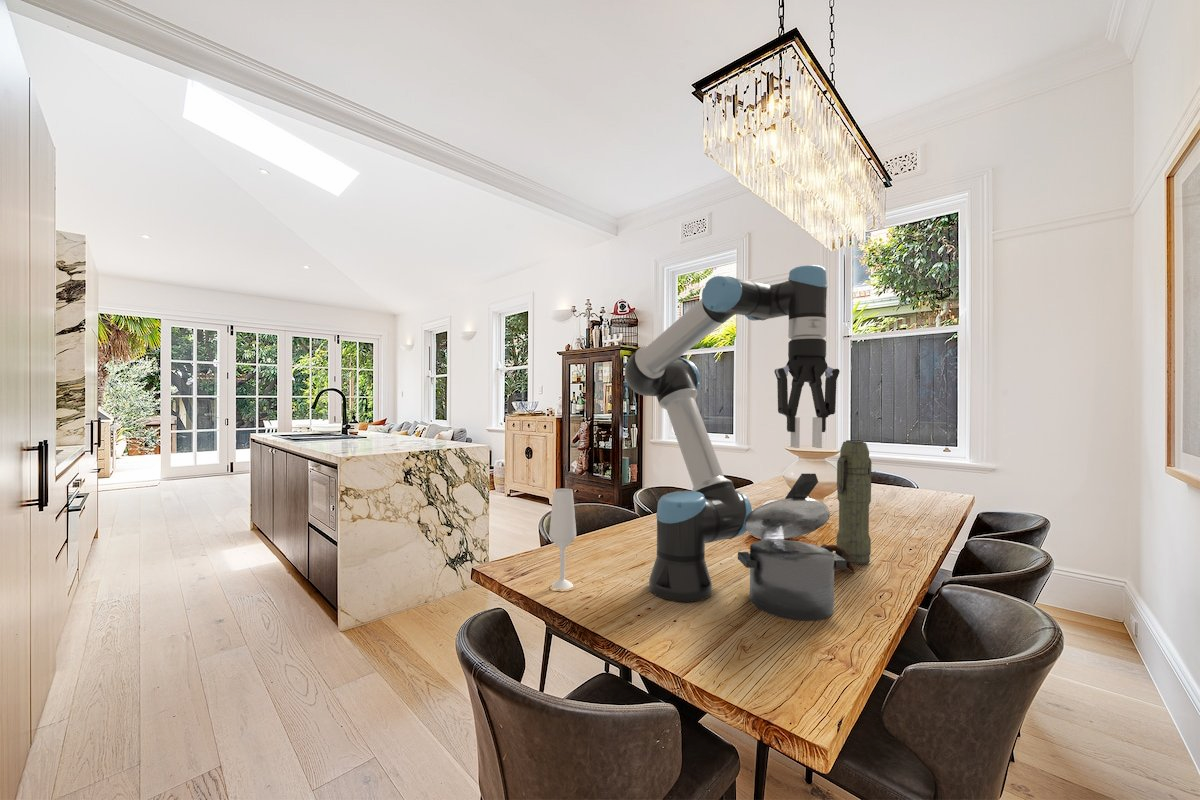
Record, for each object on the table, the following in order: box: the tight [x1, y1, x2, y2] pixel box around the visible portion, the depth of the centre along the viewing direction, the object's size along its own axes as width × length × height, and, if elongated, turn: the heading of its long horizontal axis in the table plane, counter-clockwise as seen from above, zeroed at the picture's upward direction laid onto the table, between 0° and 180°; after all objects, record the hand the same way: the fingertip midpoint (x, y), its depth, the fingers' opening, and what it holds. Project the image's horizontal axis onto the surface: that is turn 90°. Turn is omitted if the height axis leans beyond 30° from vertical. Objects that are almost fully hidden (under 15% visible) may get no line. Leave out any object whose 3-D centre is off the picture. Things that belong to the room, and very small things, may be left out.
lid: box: [745, 473, 831, 540], centre depth 112 cm, size 19×26×3 cm
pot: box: [737, 538, 846, 622], centre depth 113 cm, size 23×21×12 cm
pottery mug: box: [820, 543, 855, 574], centre depth 133 cm, size 12×10×8 cm
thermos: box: [836, 439, 872, 565], centre depth 142 cm, size 9×12×35 cm
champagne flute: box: [548, 487, 577, 589], centre depth 119 cm, size 7×7×24 cm
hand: (805, 447), depth 104 cm, fingers open, 4 cm apart
